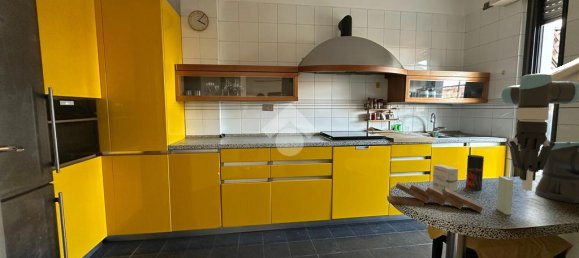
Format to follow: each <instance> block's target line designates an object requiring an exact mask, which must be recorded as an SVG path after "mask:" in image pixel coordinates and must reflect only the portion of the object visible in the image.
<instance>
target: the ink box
mask: <svg viewBox="0 0 579 258" xmlns="http://www.w3.org/2000/svg"><path fill="white" fill-rule="evenodd" d="M432 168H433V170H432V172H433V173H432V187H434V188H436V189H438V190H440V191H442V192H443V190H444V188H447V189H449V190H451V191H453V192H456V193H458V184H459V183H458V181H459V177H458V176H459V169H458V168H456V167H452V166H449V165H448V166H447V165H444V164H434V165H433V167H432Z"/></svg>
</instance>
